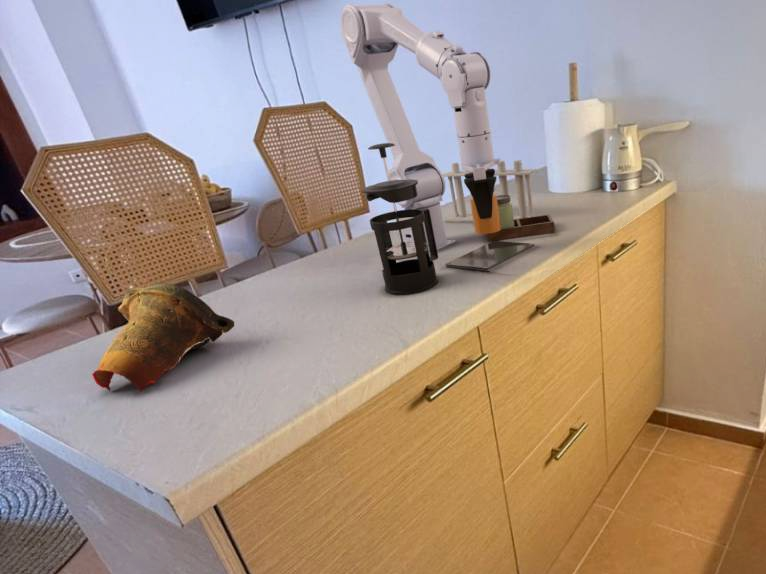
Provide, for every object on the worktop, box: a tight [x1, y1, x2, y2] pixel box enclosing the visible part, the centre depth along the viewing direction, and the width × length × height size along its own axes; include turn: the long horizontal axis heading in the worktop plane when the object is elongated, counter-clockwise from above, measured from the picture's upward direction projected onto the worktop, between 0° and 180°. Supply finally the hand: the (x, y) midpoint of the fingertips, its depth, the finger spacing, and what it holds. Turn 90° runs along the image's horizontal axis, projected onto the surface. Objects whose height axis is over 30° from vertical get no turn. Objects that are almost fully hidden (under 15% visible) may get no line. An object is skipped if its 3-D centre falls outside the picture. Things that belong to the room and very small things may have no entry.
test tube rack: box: [442, 159, 538, 223], centre depth 129 cm, size 25×4×13 cm, turn 57°
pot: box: [92, 283, 236, 393], centre depth 77 cm, size 17×11×18 cm
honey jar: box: [469, 189, 501, 235], centre depth 101 cm, size 5×5×8 cm
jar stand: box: [486, 213, 556, 243], centre depth 117 cm, size 14×7×3 cm, turn 94°
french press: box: [361, 142, 439, 296], centre depth 91 cm, size 12×9×23 cm
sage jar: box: [497, 194, 515, 229], centre depth 115 cm, size 5×5×8 cm
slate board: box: [445, 240, 535, 273], centre depth 105 cm, size 15×10×1 cm, turn 144°
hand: (485, 215), depth 102 cm, fingers closed on honey jar, 5 cm apart
